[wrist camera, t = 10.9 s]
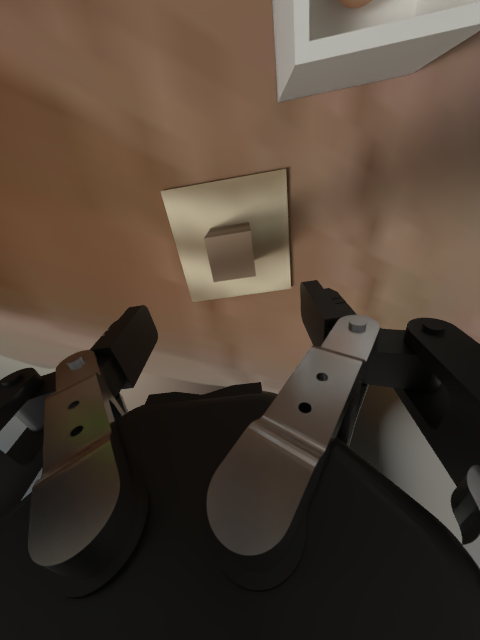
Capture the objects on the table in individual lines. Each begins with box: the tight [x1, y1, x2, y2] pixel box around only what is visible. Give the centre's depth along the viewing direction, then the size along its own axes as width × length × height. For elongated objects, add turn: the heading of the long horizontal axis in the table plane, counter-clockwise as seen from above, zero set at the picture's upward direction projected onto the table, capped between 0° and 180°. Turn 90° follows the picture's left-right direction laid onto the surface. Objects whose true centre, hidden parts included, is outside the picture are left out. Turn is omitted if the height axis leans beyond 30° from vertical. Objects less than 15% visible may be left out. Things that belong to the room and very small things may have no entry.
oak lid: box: [161, 169, 291, 302], centre depth 23 cm, size 12×12×6 cm
